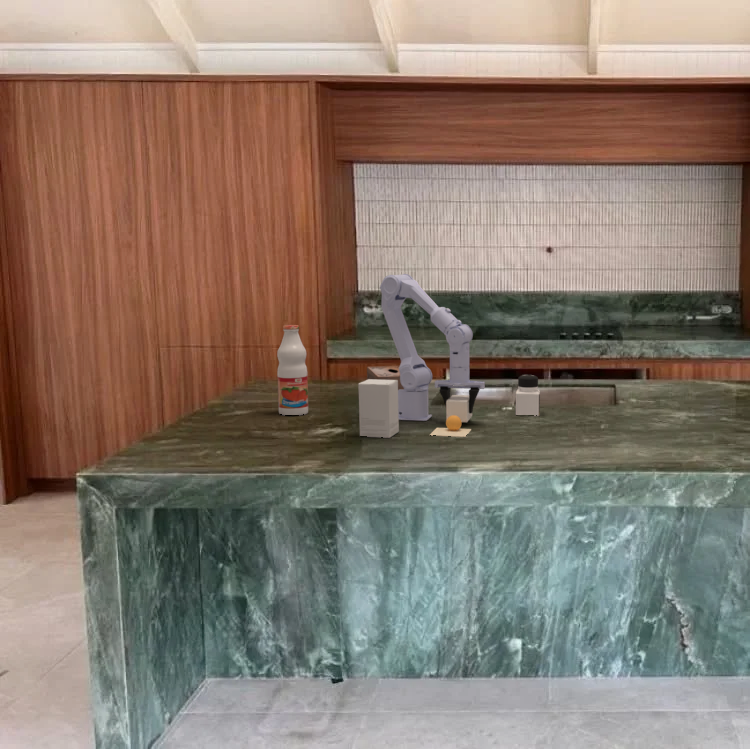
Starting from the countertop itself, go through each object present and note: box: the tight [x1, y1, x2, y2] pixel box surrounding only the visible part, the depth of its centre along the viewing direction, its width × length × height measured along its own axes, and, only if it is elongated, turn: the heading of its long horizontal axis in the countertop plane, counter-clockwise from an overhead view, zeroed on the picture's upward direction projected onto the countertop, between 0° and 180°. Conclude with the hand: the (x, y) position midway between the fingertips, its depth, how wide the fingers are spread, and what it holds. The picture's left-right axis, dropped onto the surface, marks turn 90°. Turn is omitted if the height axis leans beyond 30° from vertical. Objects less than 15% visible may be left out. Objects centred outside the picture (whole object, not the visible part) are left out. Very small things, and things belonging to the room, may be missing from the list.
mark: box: [429, 427, 472, 438], centre depth 238 cm, size 10×10×1 cm
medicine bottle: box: [515, 374, 541, 417], centre depth 262 cm, size 7×7×12 cm
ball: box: [445, 415, 463, 431], centre depth 240 cm, size 4×4×4 cm
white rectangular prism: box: [445, 394, 473, 423], centre depth 250 cm, size 10×6×6 cm, turn 164°
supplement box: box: [357, 379, 400, 439], centre depth 236 cm, size 9×9×15 cm
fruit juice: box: [276, 324, 309, 416], centre depth 268 cm, size 9×9×28 cm
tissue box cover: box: [366, 365, 404, 390], centre depth 294 cm, size 26×14×10 cm, turn 9°
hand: (459, 412), depth 250 cm, fingers closed on white rectangular prism, 6 cm apart
